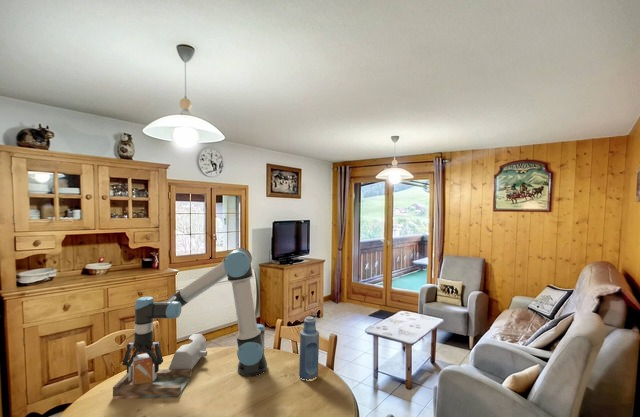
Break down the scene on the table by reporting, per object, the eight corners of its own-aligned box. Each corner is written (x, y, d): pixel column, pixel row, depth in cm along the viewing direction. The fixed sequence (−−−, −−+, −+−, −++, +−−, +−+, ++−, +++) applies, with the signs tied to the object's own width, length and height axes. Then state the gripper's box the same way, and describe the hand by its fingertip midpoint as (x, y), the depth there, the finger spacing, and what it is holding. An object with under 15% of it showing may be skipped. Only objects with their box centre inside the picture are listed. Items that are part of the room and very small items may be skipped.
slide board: (191, 377, 159) (191, 366, 159) (179, 397, 142) (179, 385, 142) (132, 378, 156) (132, 367, 157) (112, 398, 140) (113, 386, 140)
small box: (132, 390, 144) (133, 360, 144) (132, 383, 149) (132, 355, 149) (153, 385, 148) (153, 356, 148) (151, 378, 154) (152, 351, 154)
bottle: (314, 371, 168) (315, 313, 168) (320, 380, 158) (322, 319, 159) (296, 373, 165) (298, 315, 165) (301, 383, 155) (303, 321, 156)
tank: (197, 377, 159) (198, 352, 159) (165, 377, 159) (165, 351, 159) (213, 354, 184) (213, 333, 184) (185, 354, 184) (185, 332, 184)
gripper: (171, 328, 154) (170, 374, 153) (122, 328, 152) (121, 375, 152) (165, 334, 146) (164, 383, 146) (113, 334, 144) (112, 384, 144)
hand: (142, 379), depth 149 cm, fingers closed on small box, 10 cm apart
